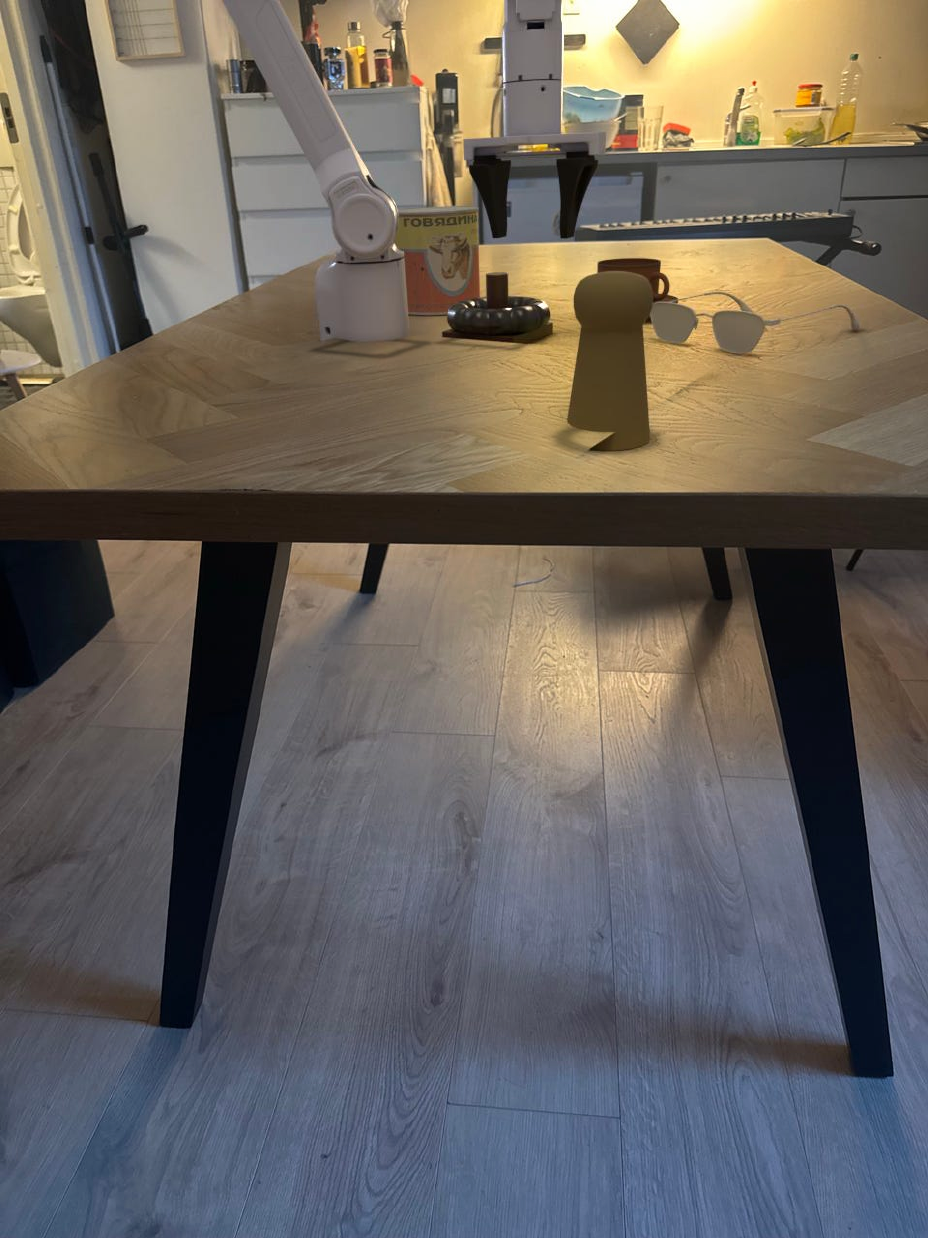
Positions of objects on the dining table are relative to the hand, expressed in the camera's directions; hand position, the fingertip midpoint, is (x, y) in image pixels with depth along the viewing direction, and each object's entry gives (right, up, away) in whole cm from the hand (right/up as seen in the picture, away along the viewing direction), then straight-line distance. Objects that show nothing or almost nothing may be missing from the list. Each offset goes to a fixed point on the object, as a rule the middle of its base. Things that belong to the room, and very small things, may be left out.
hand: (532, 237), depth 88 cm
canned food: (-10, +2, +26) cm, 28 cm away
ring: (-3, -6, +5) cm, 9 cm away
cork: (+3, -27, -27) cm, 38 cm away
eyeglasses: (+24, -9, +2) cm, 26 cm away
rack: (-3, -8, +6) cm, 11 cm away
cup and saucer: (+13, -3, +15) cm, 20 cm away
